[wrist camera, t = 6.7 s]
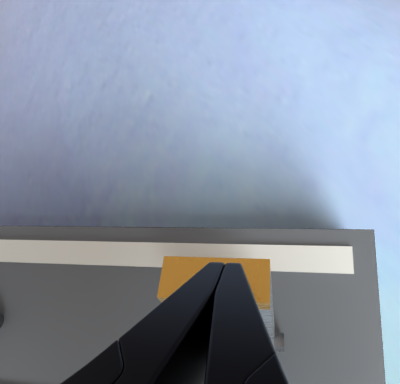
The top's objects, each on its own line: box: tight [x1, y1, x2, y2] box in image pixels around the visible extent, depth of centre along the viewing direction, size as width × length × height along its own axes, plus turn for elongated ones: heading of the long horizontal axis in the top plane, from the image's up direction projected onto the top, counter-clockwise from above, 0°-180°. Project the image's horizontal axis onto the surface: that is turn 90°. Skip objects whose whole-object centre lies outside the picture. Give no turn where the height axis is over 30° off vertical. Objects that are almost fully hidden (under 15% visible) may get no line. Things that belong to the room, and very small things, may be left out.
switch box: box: [0, 226, 386, 384], centre depth 20 cm, size 10×26×5 cm, turn 87°
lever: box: [157, 256, 284, 353], centre depth 13 cm, size 1×4×8 cm, turn 87°
